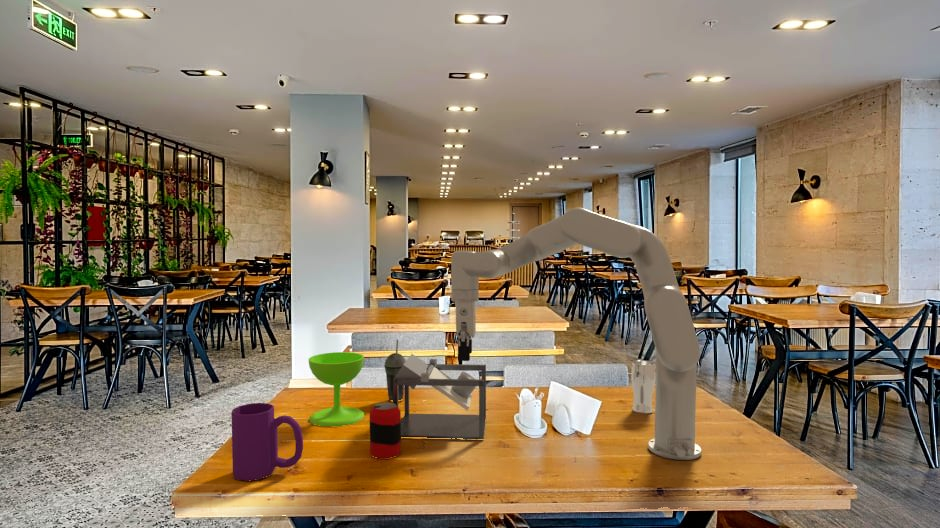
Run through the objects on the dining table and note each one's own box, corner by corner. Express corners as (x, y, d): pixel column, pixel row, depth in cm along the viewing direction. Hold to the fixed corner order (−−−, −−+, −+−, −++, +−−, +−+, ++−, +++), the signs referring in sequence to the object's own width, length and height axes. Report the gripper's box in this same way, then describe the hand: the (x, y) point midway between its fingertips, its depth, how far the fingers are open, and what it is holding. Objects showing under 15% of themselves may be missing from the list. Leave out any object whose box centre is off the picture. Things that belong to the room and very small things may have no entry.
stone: (467, 400, 152) (477, 386, 152) (450, 389, 153) (461, 374, 152) (468, 395, 158) (478, 380, 158) (452, 384, 158) (462, 369, 158)
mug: (240, 465, 131) (239, 403, 130) (307, 463, 132) (306, 401, 131) (226, 483, 122) (224, 415, 121) (298, 480, 123) (297, 413, 122)
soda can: (367, 450, 140) (366, 403, 140) (396, 446, 143) (396, 400, 142) (373, 461, 133) (372, 412, 132) (404, 457, 136) (403, 408, 135)
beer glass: (657, 414, 168) (658, 365, 167) (634, 414, 168) (635, 365, 167) (650, 407, 175) (651, 360, 174) (628, 407, 175) (628, 359, 174)
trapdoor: (459, 421, 148) (469, 406, 148) (394, 377, 149) (404, 362, 148) (463, 404, 163) (472, 391, 162) (404, 364, 163) (413, 351, 163)
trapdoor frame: (483, 441, 146) (483, 375, 145) (393, 439, 148) (392, 373, 147) (485, 418, 165) (485, 359, 164) (405, 416, 166) (405, 358, 165)
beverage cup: (380, 402, 181) (379, 340, 180) (393, 396, 187) (392, 337, 186) (398, 405, 177) (398, 342, 176) (411, 399, 184) (410, 339, 183)
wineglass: (369, 422, 161) (369, 361, 160) (312, 430, 155) (311, 366, 154) (359, 407, 175) (358, 350, 174) (306, 413, 170) (305, 354, 169)
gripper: (477, 299, 145) (477, 364, 146) (479, 292, 162) (479, 350, 163) (448, 298, 145) (448, 363, 146) (454, 292, 163) (454, 350, 164)
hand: (465, 356), depth 155 cm, fingers open, 9 cm apart
